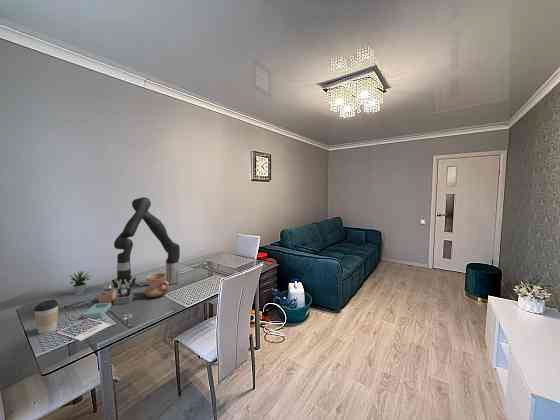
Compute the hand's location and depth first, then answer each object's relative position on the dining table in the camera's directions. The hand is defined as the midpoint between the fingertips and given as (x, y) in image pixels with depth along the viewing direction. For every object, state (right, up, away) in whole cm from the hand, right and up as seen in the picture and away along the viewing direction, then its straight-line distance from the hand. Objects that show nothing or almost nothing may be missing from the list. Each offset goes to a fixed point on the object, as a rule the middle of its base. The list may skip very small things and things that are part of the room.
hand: (124, 293), depth 152 cm
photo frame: (0, -8, -31) cm, 32 cm away
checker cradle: (-1, -6, +2) cm, 6 cm away
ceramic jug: (+16, -6, +12) cm, 20 cm away
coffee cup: (-18, -8, -32) cm, 38 cm away
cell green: (0, -3, 0) cm, 3 cm away
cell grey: (-11, -5, 0) cm, 12 cm away
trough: (-7, -6, -14) cm, 17 cm away
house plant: (-40, -4, +11) cm, 42 cm away
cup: (-11, -5, 0) cm, 13 cm away
